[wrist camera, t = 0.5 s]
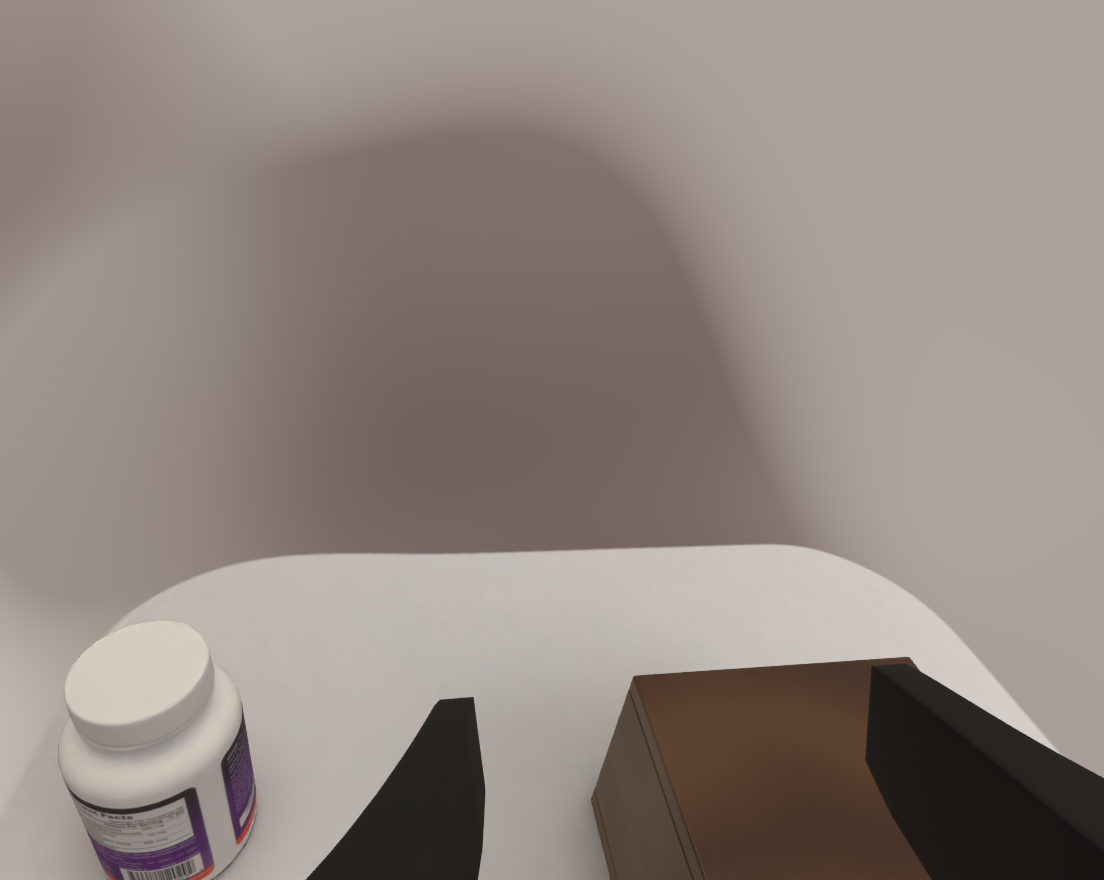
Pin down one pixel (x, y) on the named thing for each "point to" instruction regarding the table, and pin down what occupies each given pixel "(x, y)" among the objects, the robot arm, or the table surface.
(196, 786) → the pill bottle
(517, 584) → the table surface
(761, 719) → the cabinet
